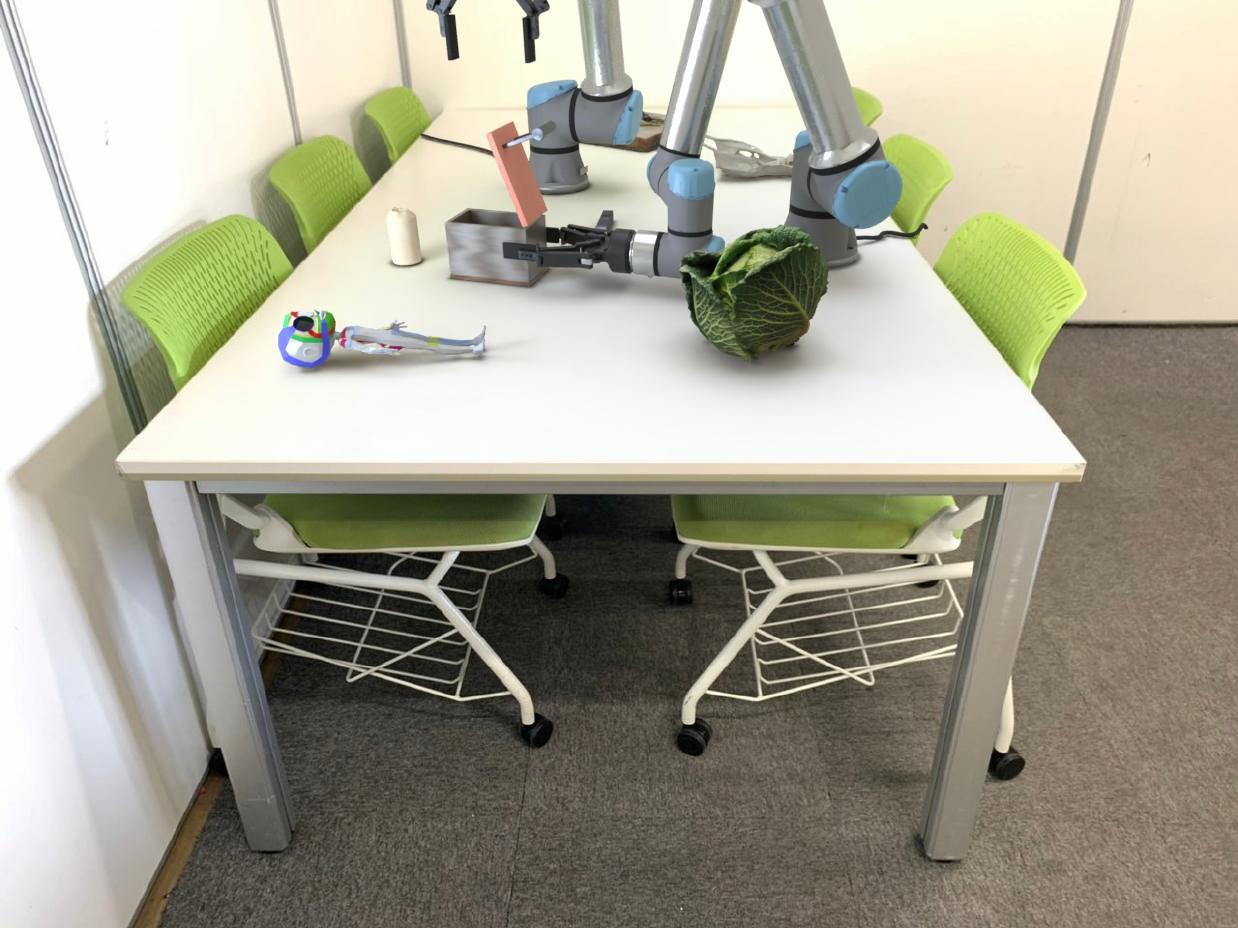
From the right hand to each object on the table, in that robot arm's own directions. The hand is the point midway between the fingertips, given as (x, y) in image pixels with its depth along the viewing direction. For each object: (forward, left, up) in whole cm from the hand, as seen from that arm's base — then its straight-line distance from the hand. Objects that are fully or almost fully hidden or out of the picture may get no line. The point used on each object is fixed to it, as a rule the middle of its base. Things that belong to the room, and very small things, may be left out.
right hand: (514, 241), depth 161 cm
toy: (+21, +32, -6) cm, 39 cm away
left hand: (+1, -1, +30) cm, 30 cm away
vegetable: (-34, +37, -6) cm, 51 cm away
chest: (+3, -2, -6) cm, 7 cm away
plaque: (-37, -108, -6) cm, 115 cm away
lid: (-1, +1, +12) cm, 12 cm away
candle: (+21, -11, -6) cm, 24 cm away
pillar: (-18, -20, -6) cm, 28 cm away
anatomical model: (-59, -60, -6) cm, 85 cm away
